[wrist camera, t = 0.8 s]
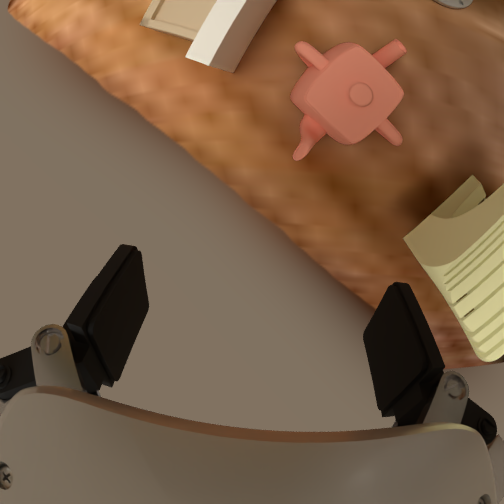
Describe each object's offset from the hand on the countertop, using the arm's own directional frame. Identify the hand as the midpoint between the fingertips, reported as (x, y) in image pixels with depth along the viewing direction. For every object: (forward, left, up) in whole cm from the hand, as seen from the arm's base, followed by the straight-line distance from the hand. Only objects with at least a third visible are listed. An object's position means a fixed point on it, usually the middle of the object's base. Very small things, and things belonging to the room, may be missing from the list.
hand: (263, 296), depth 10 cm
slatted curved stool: (-4, +33, -28) cm, 44 cm away
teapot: (-10, +4, -28) cm, 30 cm away
